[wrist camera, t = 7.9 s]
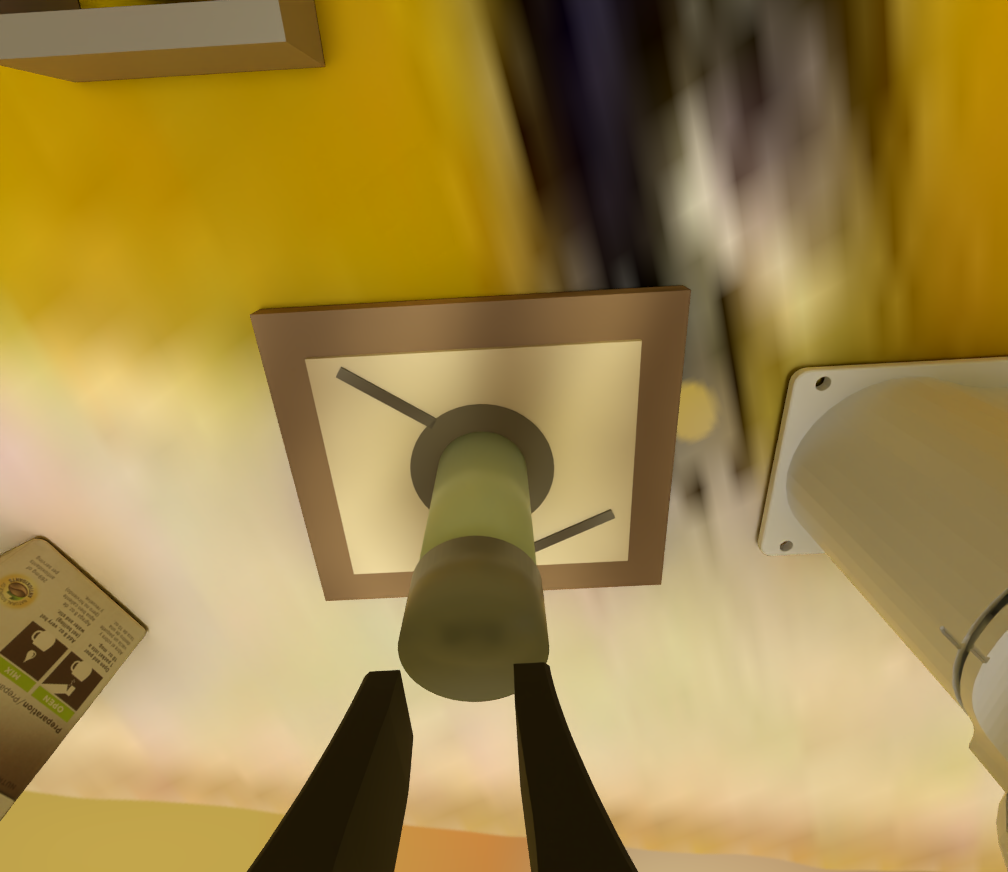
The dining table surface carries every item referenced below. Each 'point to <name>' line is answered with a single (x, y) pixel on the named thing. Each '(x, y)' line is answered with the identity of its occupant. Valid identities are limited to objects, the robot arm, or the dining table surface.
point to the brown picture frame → (481, 424)
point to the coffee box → (51, 656)
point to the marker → (475, 576)
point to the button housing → (158, 38)
